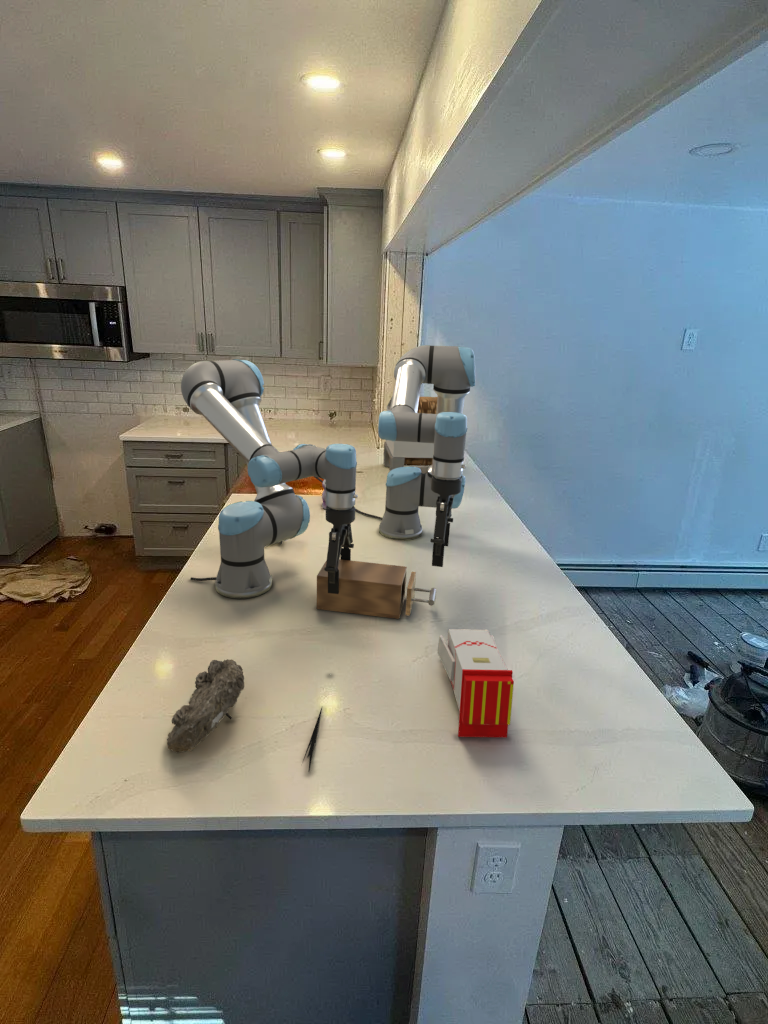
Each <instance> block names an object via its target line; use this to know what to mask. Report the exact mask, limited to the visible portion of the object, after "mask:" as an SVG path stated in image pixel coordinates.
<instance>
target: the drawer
mask: <svg viewBox="0 0 768 1024" xmlns="http://www.w3.org/2000/svg"><path fill="white" fill-rule="evenodd" d="M405 576H406V577H407V573H406V574H405ZM416 577H417V571H411V572H410V576H409V580H408V584H407V587H406V589H405V577H404V581H403V584H402V590H401V606H402V603H403V599H404V591H405V592H406V595H405V613H404V614H405V616H408V617H410V616H411V613H412V609H413V605H414V602H416V603H425V604H428V605H429V606H432V607H433V606H434V605H435V603H436V598H437V597H436V596H437V591H438V590H437V589H436V588H435V587H431V588H430V589H427V588H419V587H416V579H417V578H416ZM415 592H422V593H428V594H429V596H428V599H423V598H415V594H416V593H415ZM401 606H400V610H401Z"/></svg>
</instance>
